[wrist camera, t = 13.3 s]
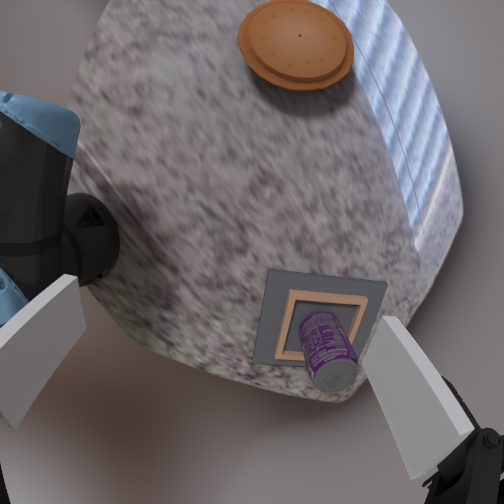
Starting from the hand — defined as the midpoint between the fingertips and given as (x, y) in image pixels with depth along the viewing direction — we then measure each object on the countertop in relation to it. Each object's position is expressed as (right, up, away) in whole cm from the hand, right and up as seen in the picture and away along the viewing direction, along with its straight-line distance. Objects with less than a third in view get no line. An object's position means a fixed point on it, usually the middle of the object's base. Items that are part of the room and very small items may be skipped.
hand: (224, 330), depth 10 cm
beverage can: (+12, -9, +33) cm, 36 cm away
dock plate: (+12, -9, +34) cm, 37 cm away
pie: (+7, +32, +20) cm, 38 cm away
